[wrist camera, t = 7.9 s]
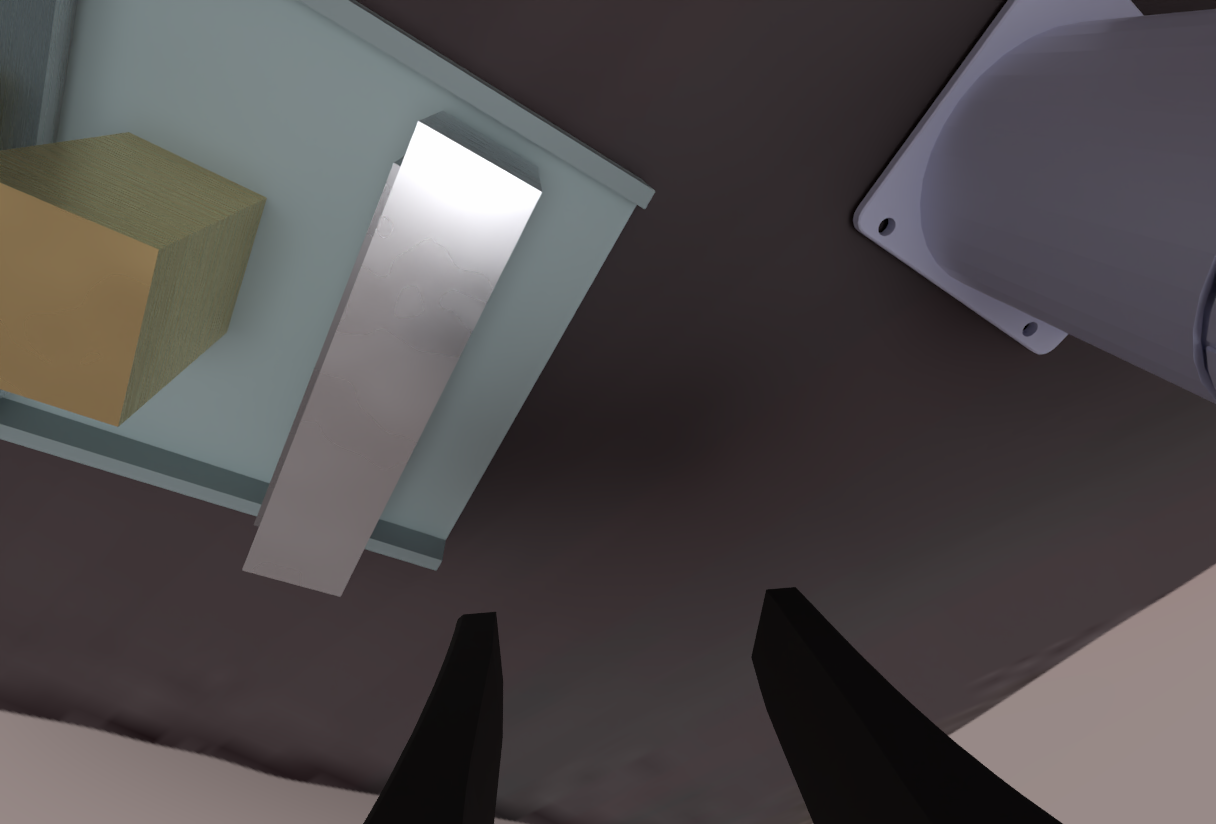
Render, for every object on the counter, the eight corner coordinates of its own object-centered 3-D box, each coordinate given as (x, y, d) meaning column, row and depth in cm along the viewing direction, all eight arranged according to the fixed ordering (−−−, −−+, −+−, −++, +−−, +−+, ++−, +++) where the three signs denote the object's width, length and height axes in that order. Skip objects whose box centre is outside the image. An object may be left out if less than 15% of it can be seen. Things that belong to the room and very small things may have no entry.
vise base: (641, 178, 16) (655, 190, 15) (443, 531, 22) (436, 570, 20) (-18, -233, 11) (-117, -289, 9) (-68, 363, 16) (-136, 398, 15)
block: (267, 197, 14) (158, 249, 10) (227, 332, 16) (118, 426, 12) (128, 132, 13) (-57, 159, 9) (99, 282, 15) (-71, 366, 11)
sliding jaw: (537, 166, 15) (542, 191, 11) (370, 510, 19) (340, 596, 16) (434, 105, 14) (407, 114, 10) (284, 481, 18) (233, 567, 15)
